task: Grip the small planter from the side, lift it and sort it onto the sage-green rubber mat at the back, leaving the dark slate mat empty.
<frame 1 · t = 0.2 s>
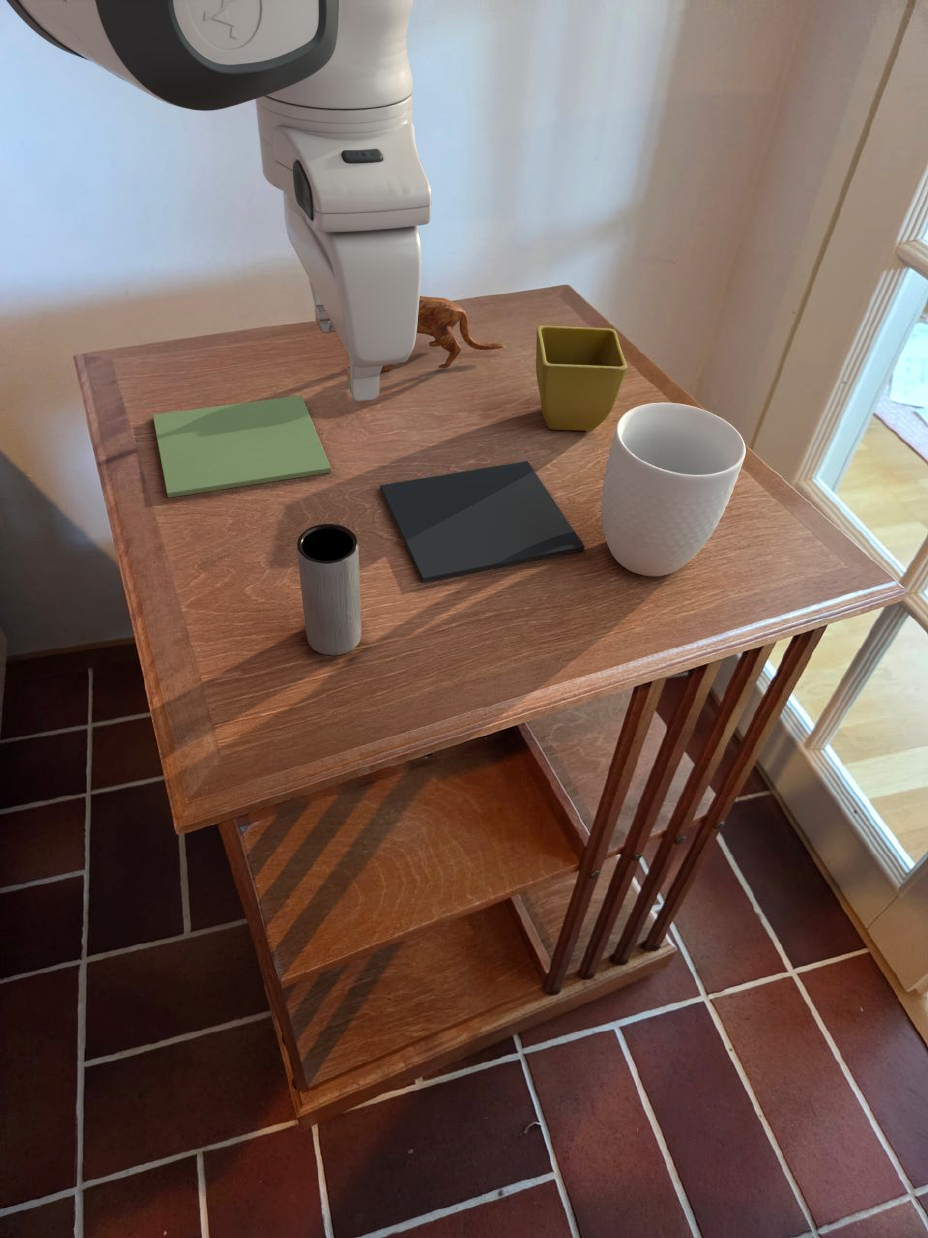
hand: (345, 359, 59), 21 cm above the table, tool pointing down, fingers open, 8 cm apart
cat figurine: (431, 361, 101), on the table
slate mat: (479, 519, 81), on the table
sage mat: (240, 445, 87), on the table
mug: (644, 547, 80), on the table
flower pot: (567, 420, 94), on the table
planter: (334, 637, 69), on the table
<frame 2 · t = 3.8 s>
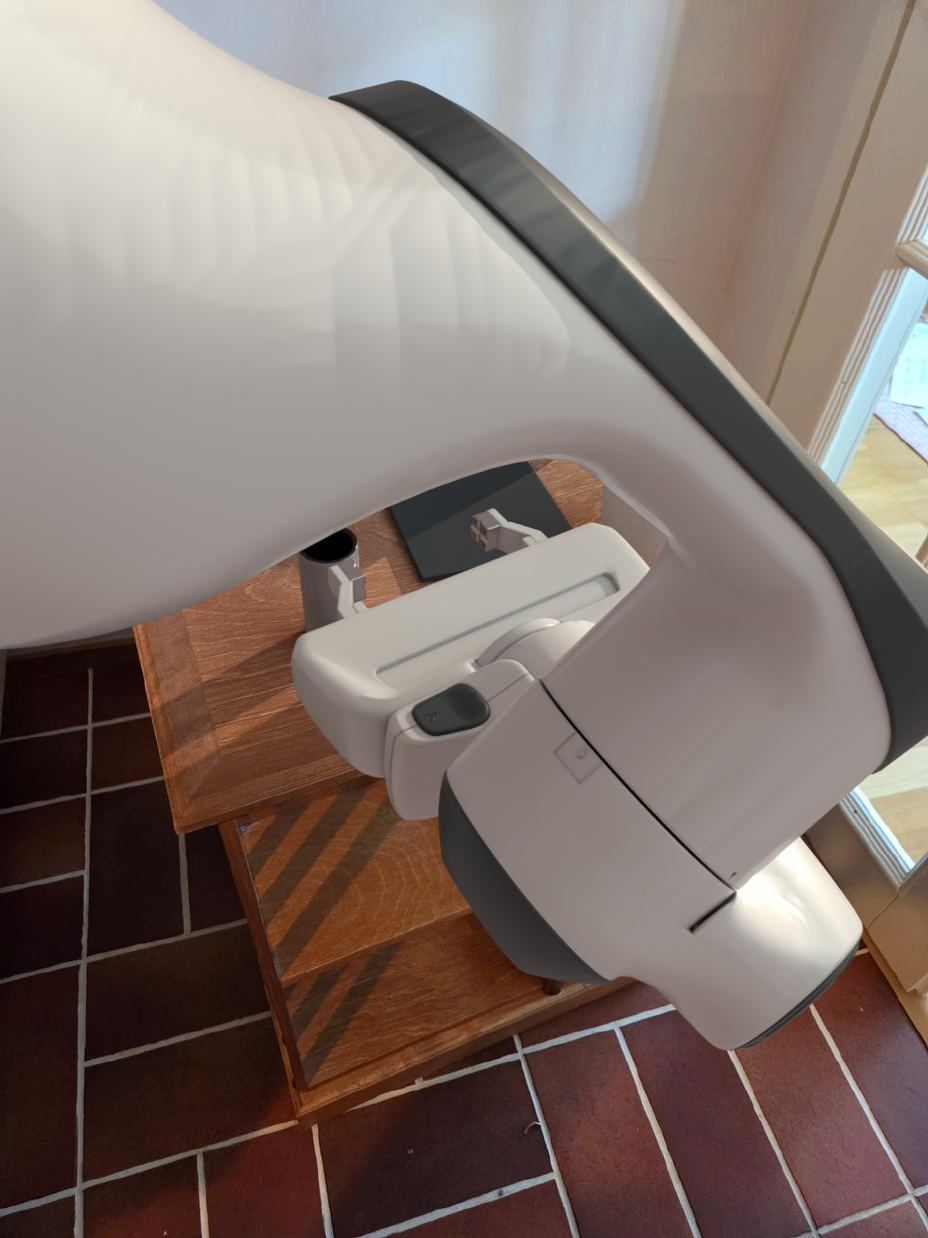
hand: (412, 545, 48), 19 cm above the table, tool horizontal, fingers open, 8 cm apart
nothing on the table moved.
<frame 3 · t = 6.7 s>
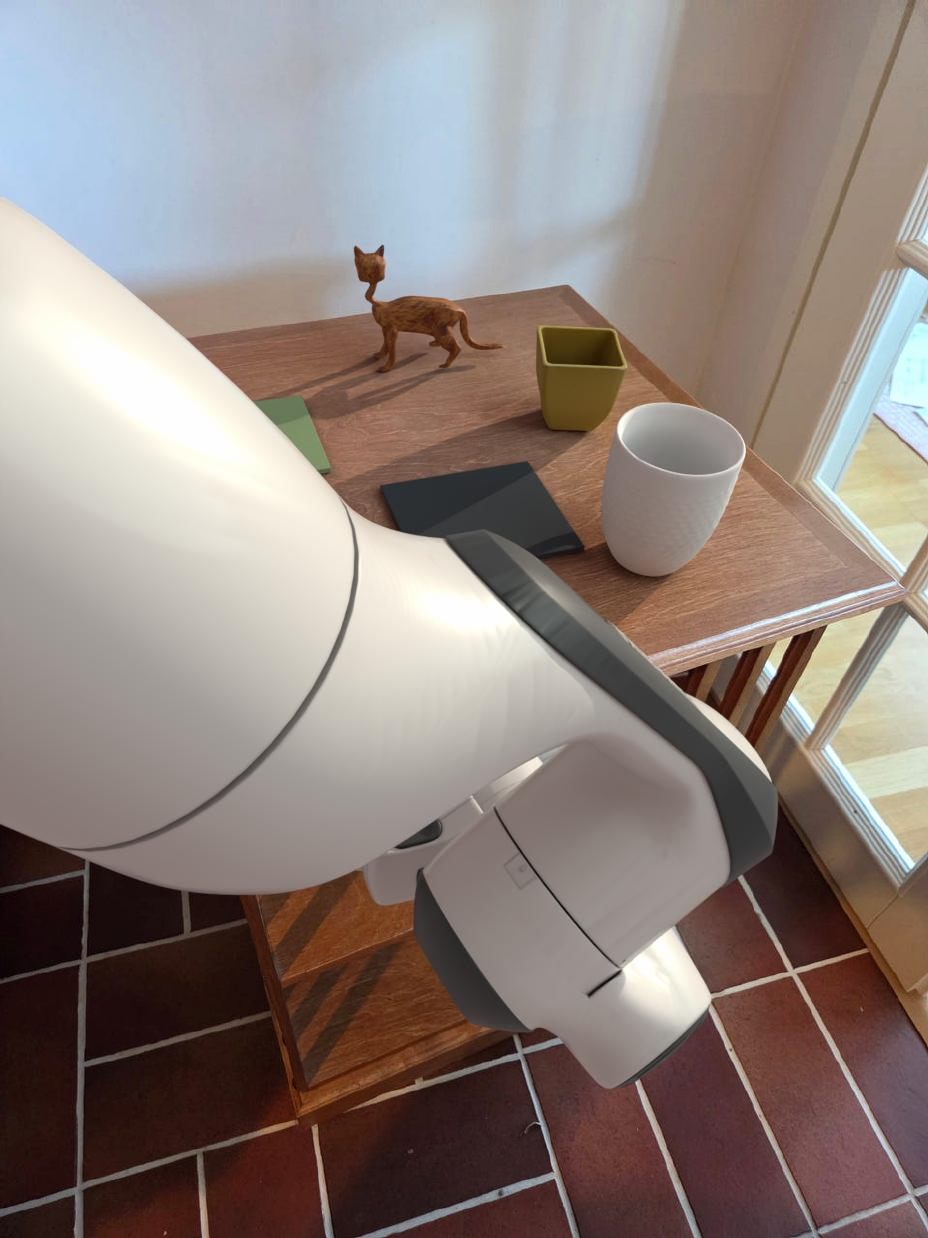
hand: (389, 669, 60), 6 cm above the table, tool horizontal, fingers open, 8 cm apart
nothing on the table moved.
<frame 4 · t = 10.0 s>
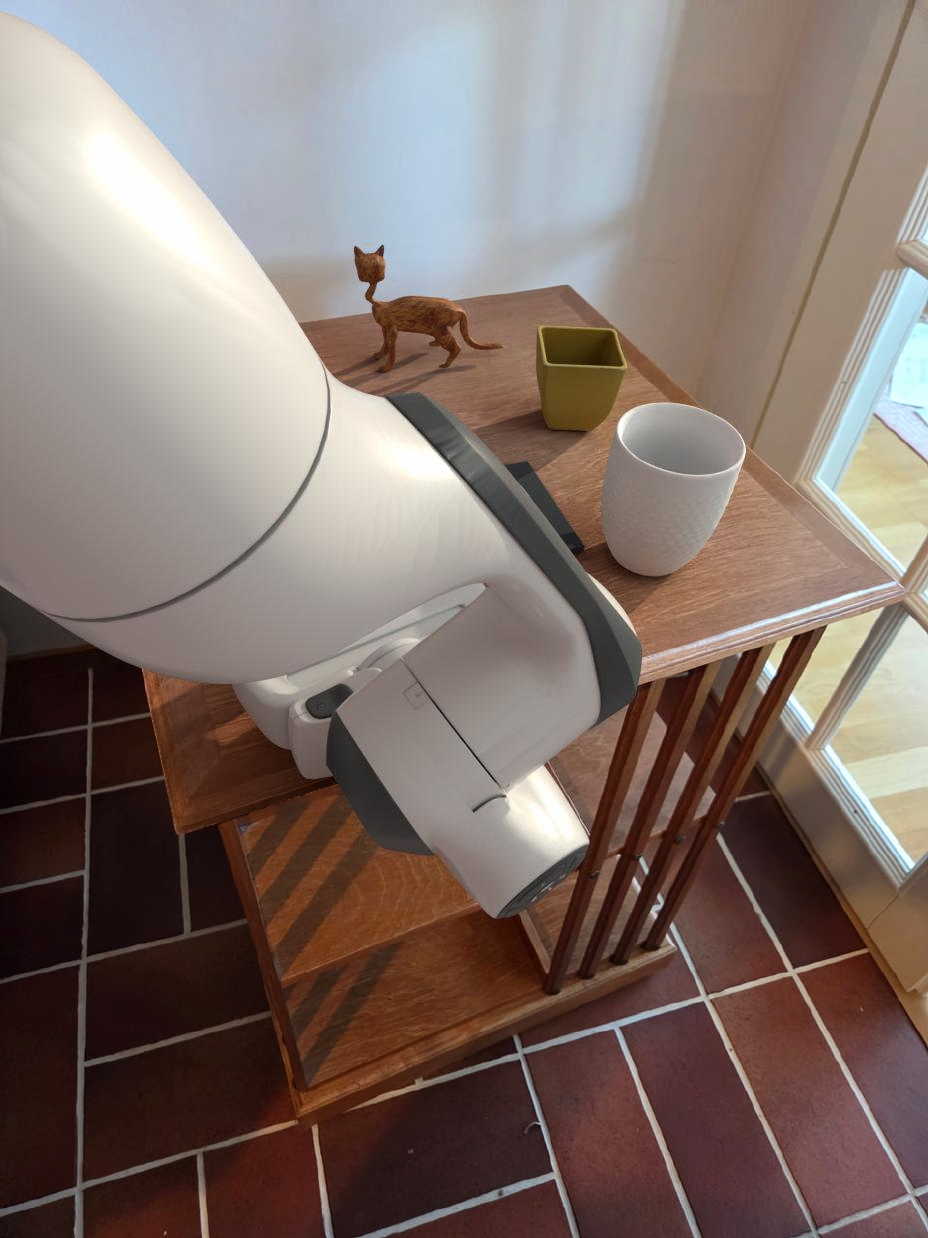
hand: (325, 581, 66), 6 cm above the table, tool horizontal, fingers closed on planter, 4 cm apart
planter: (334, 637, 69), on the table, touching gripper
everything else where it was.
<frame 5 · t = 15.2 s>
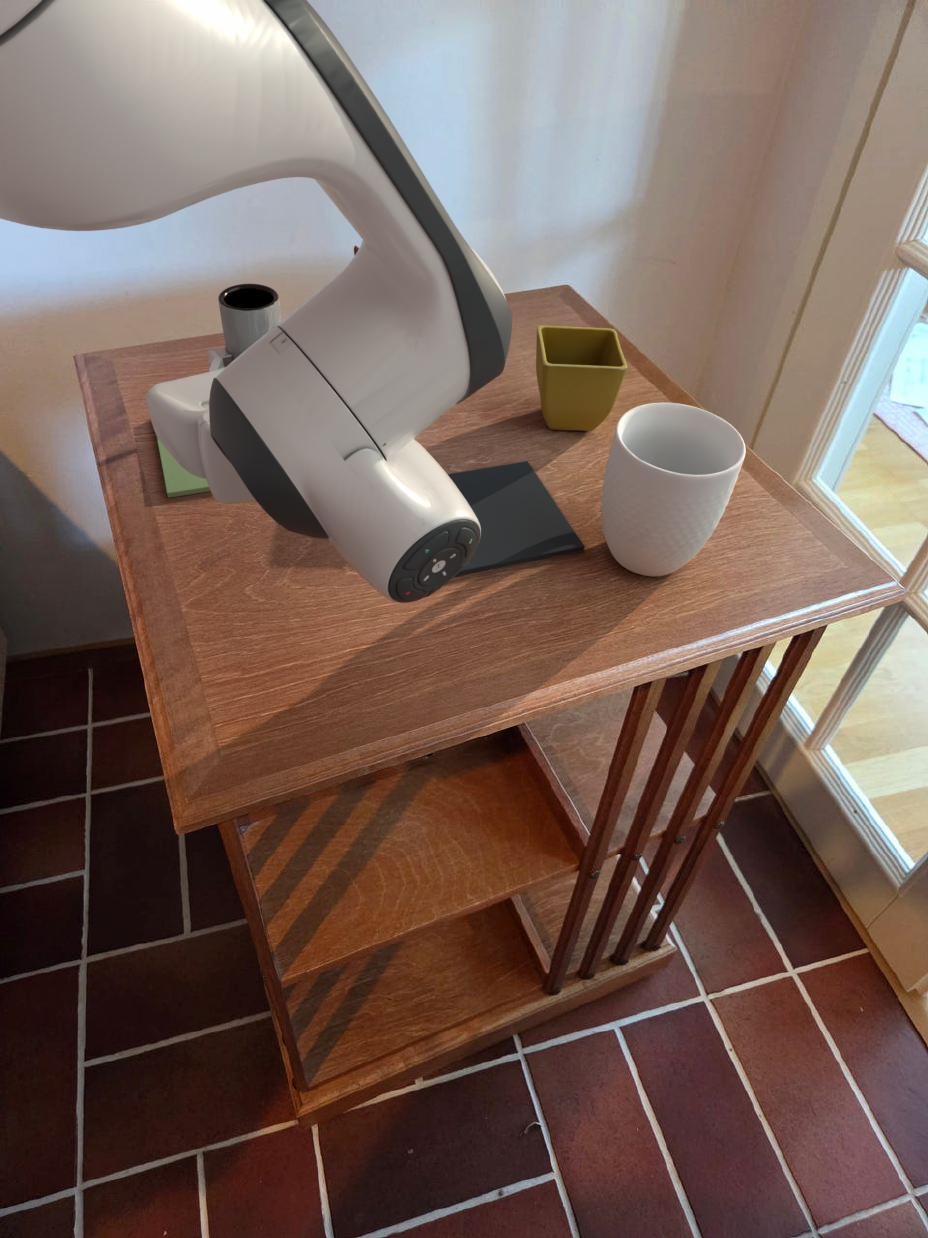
hand: (251, 348, 67), 17 cm above the table, tool horizontal, fingers closed on planter, 4 cm apart
planter: (263, 415, 71), point 11 cm above the table, touching gripper
everything else where it was.
when the fingers open (6 cm above the table, at t = 20.3 s): planter stays where it is, resting on sage mat.
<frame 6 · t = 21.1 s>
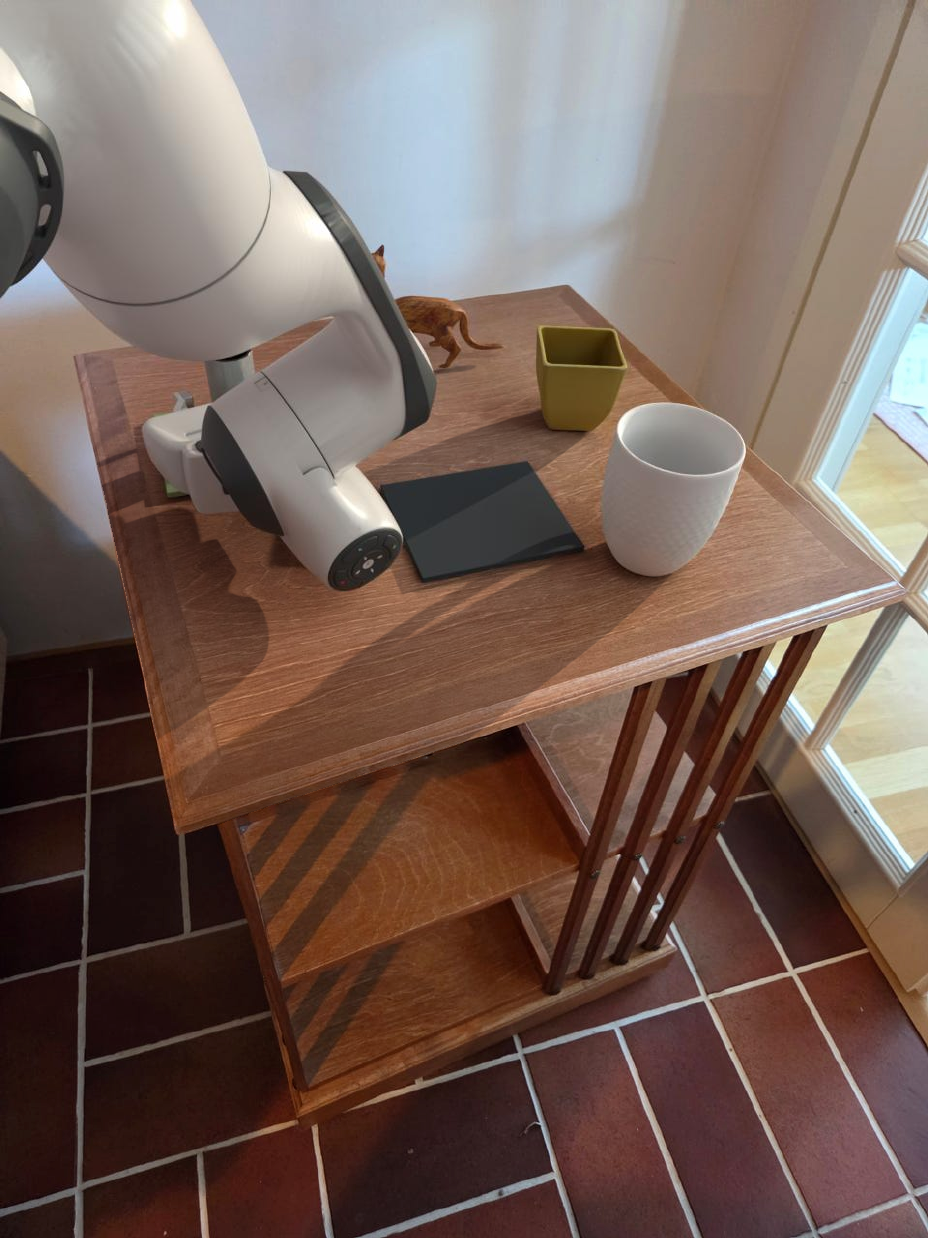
hand: (227, 385, 82), 7 cm above the table, tool horizontal, fingers open, 8 cm apart
planter: (241, 442, 86), resting on sage mat
everything else where it was.
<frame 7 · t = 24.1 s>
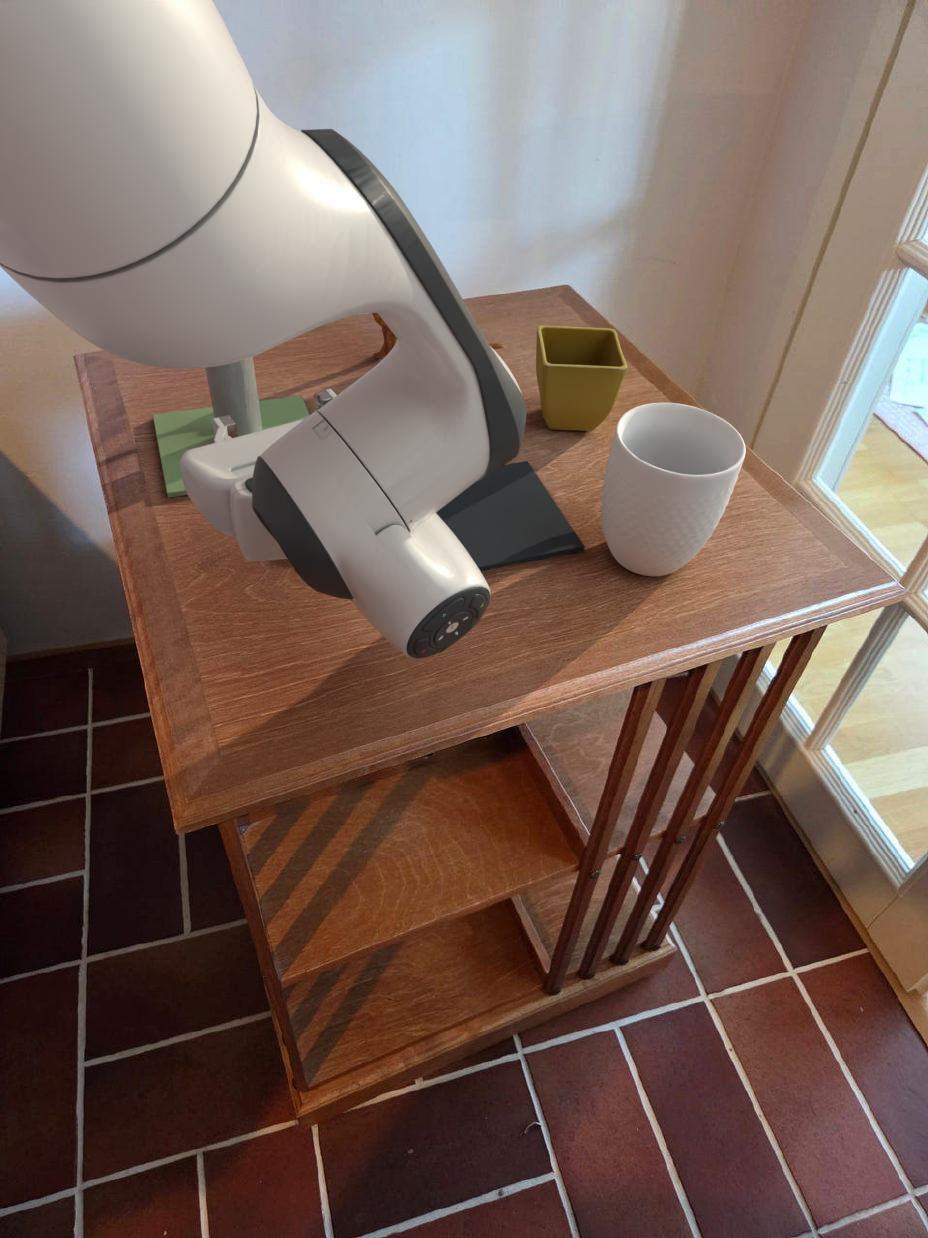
hand: (273, 410, 72), 11 cm above the table, tool horizontal, fingers open, 8 cm apart
nothing on the table moved.
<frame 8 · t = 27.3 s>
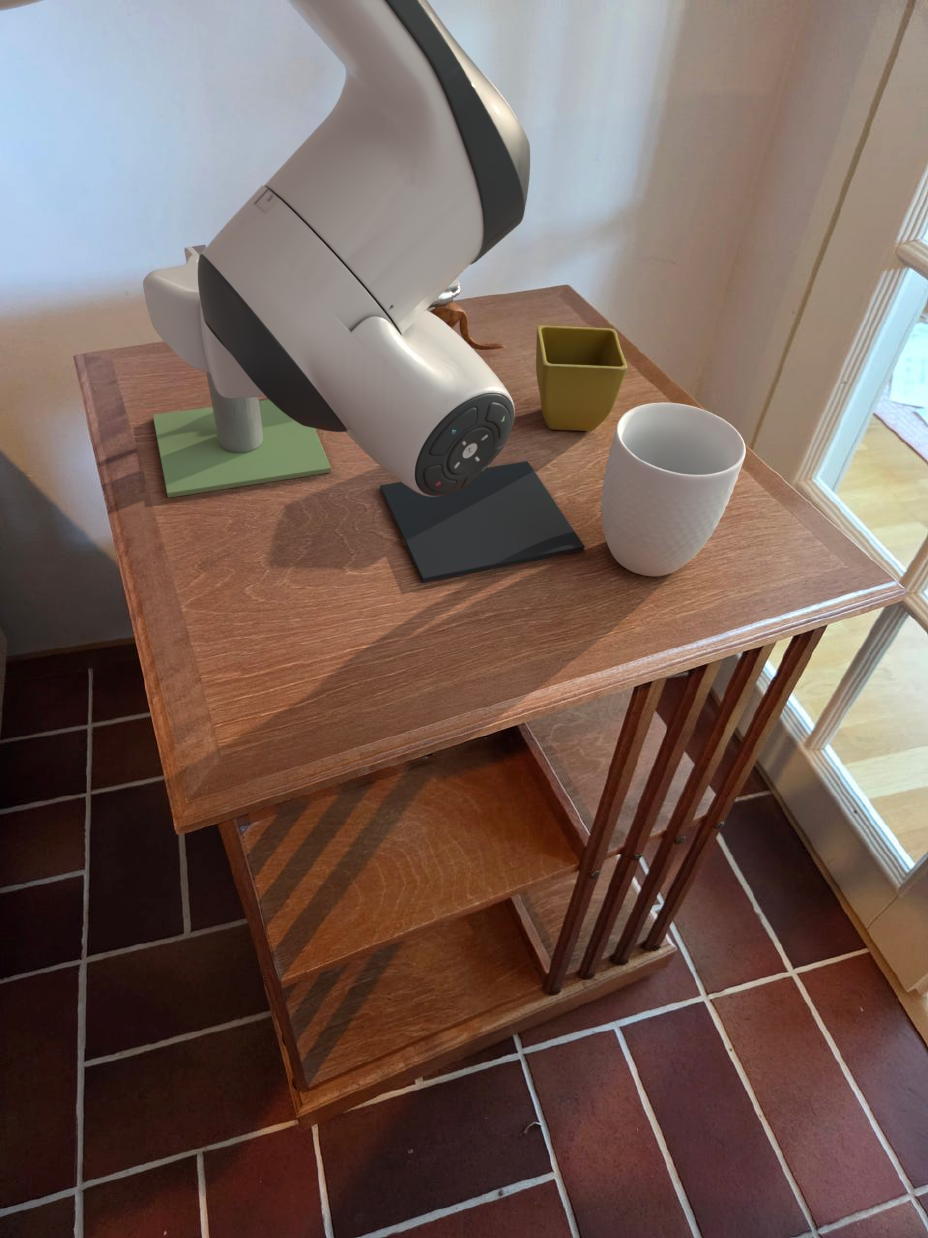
hand: (256, 245, 62), 25 cm above the table, tool horizontal, fingers open, 8 cm apart
nothing on the table moved.
at the end: planter inside the target area on the sage mat (0.2 cm from its centre), point 0.4 cm above the sage mat's base; planter tilted 0°; the gripper is holding nothing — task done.
